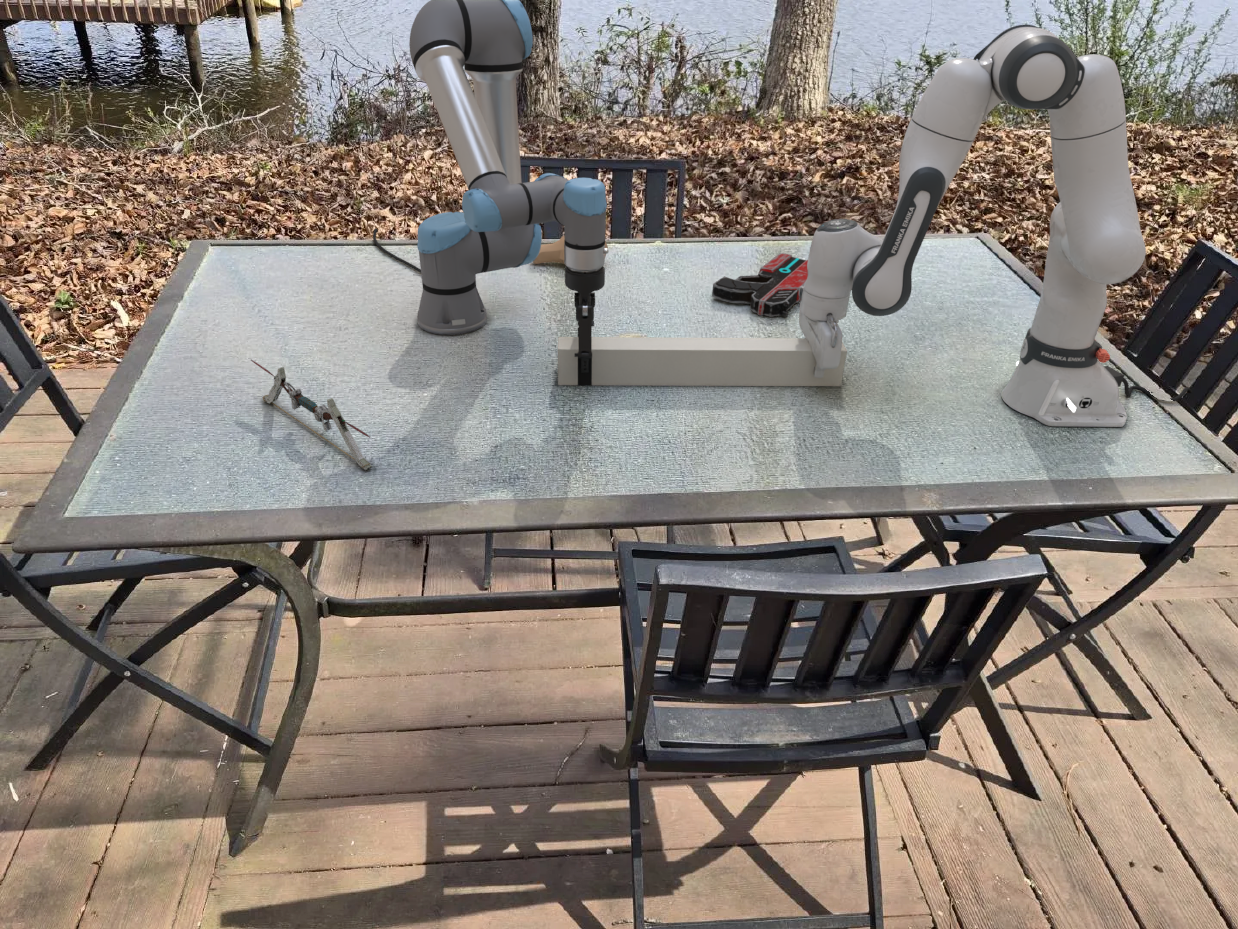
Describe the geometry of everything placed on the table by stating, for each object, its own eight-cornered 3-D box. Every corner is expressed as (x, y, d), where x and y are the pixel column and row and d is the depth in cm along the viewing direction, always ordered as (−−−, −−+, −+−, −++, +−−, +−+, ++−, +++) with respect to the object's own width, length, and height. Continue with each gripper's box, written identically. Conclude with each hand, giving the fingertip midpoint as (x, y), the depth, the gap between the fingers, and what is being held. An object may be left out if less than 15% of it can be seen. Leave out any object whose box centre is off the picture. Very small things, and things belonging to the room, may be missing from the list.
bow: (382, 473, 146) (374, 421, 141) (372, 477, 145) (364, 425, 140) (264, 393, 168) (253, 345, 162) (255, 396, 167) (243, 348, 161)
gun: (708, 284, 207) (784, 305, 199) (760, 245, 229) (831, 262, 221) (706, 302, 209) (781, 323, 201) (758, 261, 231) (828, 278, 223)
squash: (609, 272, 224) (605, 241, 218) (532, 279, 226) (525, 248, 219) (610, 251, 232) (605, 220, 226) (535, 258, 233) (529, 227, 227)
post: (558, 385, 174) (557, 349, 169) (558, 372, 178) (558, 336, 174) (840, 386, 176) (847, 350, 172) (834, 373, 181) (840, 338, 176)
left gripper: (606, 290, 153) (604, 399, 166) (603, 244, 173) (602, 344, 185) (563, 290, 153) (565, 399, 165) (565, 243, 173) (566, 344, 185)
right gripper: (854, 327, 161) (842, 393, 168) (828, 284, 178) (818, 345, 185) (820, 326, 160) (809, 393, 168) (797, 283, 177) (788, 345, 185)
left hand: (584, 370), depth 175 cm, fingers open, 11 cm apart
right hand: (814, 367), depth 177 cm, fingers closed on post, 5 cm apart
